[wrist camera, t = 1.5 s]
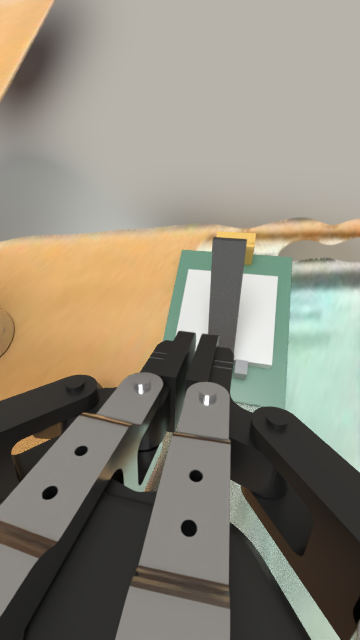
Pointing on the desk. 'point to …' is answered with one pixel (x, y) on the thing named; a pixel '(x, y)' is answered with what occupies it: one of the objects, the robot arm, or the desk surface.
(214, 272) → the gray flat bar
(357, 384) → the desk surface
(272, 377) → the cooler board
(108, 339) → the desk surface
